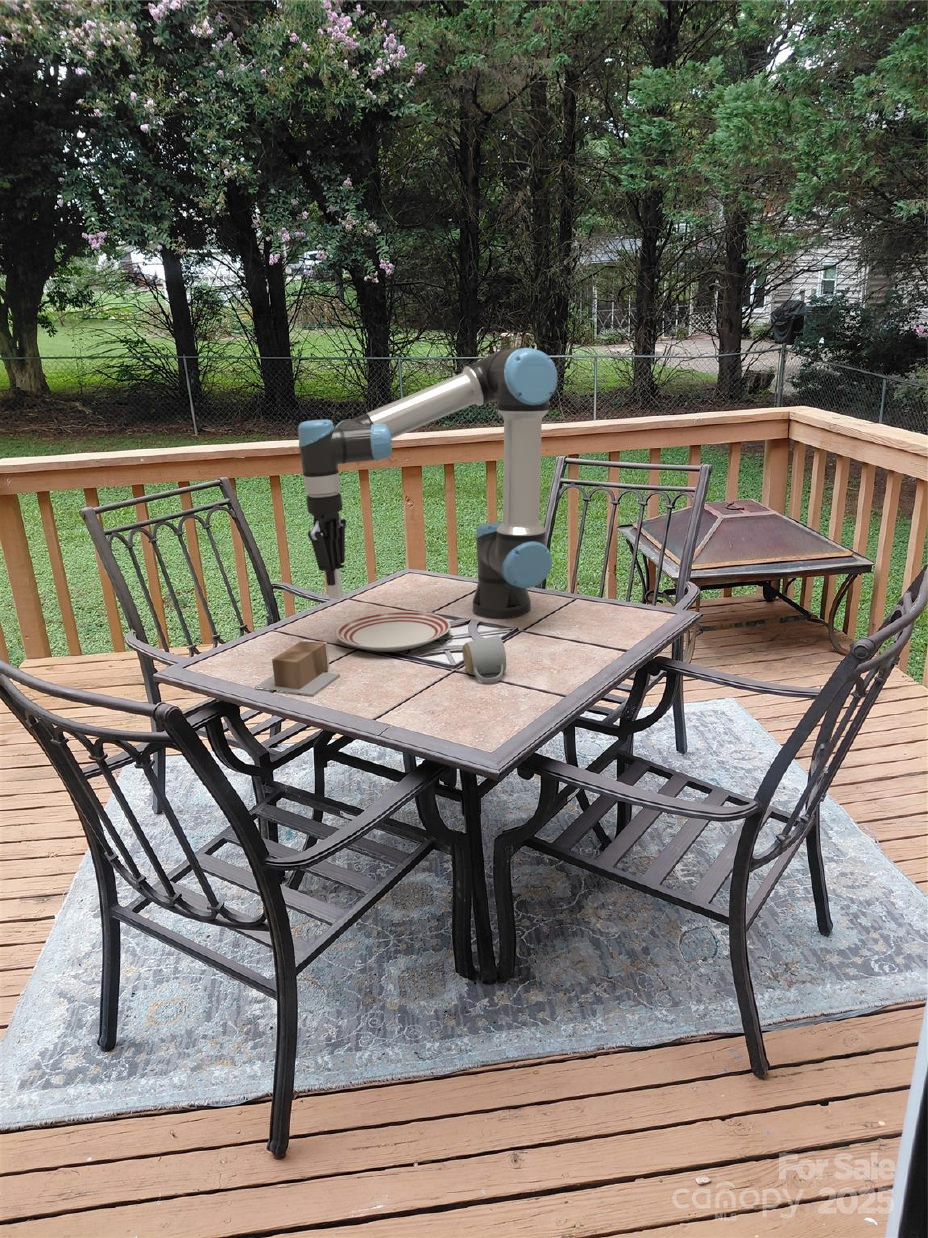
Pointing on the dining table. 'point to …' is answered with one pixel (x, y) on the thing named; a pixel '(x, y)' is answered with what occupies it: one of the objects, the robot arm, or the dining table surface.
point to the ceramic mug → (485, 658)
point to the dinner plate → (393, 630)
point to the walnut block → (300, 664)
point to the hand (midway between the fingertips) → (335, 597)
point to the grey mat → (308, 689)
